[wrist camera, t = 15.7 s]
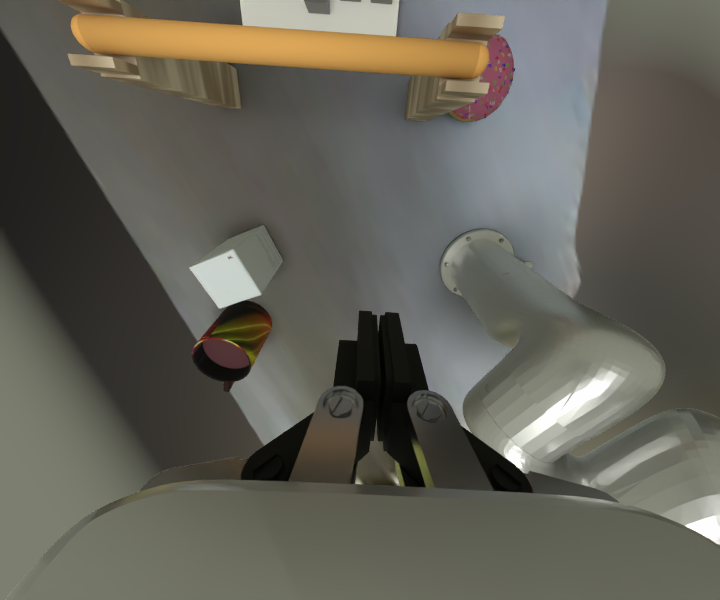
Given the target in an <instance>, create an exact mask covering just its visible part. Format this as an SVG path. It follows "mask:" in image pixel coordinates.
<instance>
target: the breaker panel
mask: <svg viewBox="0 0 720 600" xmlns="http://www.w3.org/2000/svg"><path fill="white" fill-rule="evenodd" d="M240 5H241V14H242V23H243V26H257V27H271V28H285V29H299V30H313V31H327V32H341V33H355V34H369V35H383V36H396V30H397V19H398V8H399V0H240Z"/></svg>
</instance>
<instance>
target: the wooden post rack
mask: <svg viewBox="0 0 720 600" xmlns="http://www.w3.org/2000/svg"><path fill="white" fill-rule="evenodd" d="M57 1H59V2H61V3H63V4H65V5H67V6H70V7H72V8H74V9H76V10H78V11H80V12H81V13H82V14H89V15H103V16H117V17H131V18H145V19H152V18H151V17H149V16H147V15H146V14H144V13H142V12H140V11H139V10H137V9H135V8H134V7H132V6H130V5H129V4H127V3H125V2H124V1H122V0H57ZM504 18H505V16H498V15H484V14H471V13H458V14H457V15H456V16H455V18H454V19H453V21H452V22H451V23H448V25H447V26H446V28H445V29H444V31H443V32H442V34H441V35H440V37H439V38H438V39H439V40H453V41H467V42H479V43H483V44H484V45H485V46H486V47H487V42H488V40H489V39H491V38H492V37H493V36H494V35H495V34H497V33H498V32H499V31H500V30H501V29H502V27H503V23H504ZM94 54H95V56H91V55H77V54H68V57H69V60H70V62H71V65H73V66H76V67H80V68H84V69H87V70H91V71H95V72H98V73H101V76H102V77H106V78H109V79H113V80H117V81H121V82H125V83H129V84H132V85H136V86H140V87H144V88H148V89H151V90H155V91H159V92H163V93H167V94H170V95H174V96H178V97H182V98H186V99H190V100H193V101H197V102H201V103H205V104H209V105H212V106H216V107H220V108H235V109H242V108H241V100H240V92H239V85H238V77H237V69H236V68H234V67H233V66H231V65H229V64H228V63H226V62H213V61H199V60H185V59H170V58H156V57H141V56H127V55H112V54H99V53H94ZM479 80H480V76H479V77H477V78H474V79H459V78H444V77H430V76H415V75H413V76H412V77H411V79H410V80H409V87H408V95H407V104H406V113H405V120H414V121H428V120H430V119H433V118H435V117H438V116H440V115H443V114H445V113H448V112H450V111H453V110H455V109H458V108H460V107H463V106H466V105H468V104H471V103H473V102H475V99H476V98H478V97H481V96H483V95H485V94H487V93H488V89H489V84H490V83H482V82H479Z"/></svg>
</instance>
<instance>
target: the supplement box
mask: <svg viewBox="0 0 720 600" xmlns="http://www.w3.org/2000/svg"><path fill="white" fill-rule="evenodd" d="M282 262H283V259H282V257H281V255H280V254H279V252H278V250H277V248H276V246H275V245H274V243H273V241H272V239H271V237H270V235H269V234H268V232H267V230H266V228H265V226H264V225H262V226H259V227H257V228H254V229H252V230H249V231H246V232H244V233H241V234H239V235H237V236H234V237H232V238H229V239H228V240H226V241H225V242H224V243H222V244H221V245H219V246H218V247H217V248H215V249H214V250H213V251H211V252H210V253H208V254H207V255H205V256H204V257H203V258H201V259H200V260H199V261H197V262H196V263H195V264H193V265H192V266H190V267H189V268H190V270H191V271H192V272H193V274H194V275H195V276H196V278H197V279H198V280H199V282H200V283H201V284H202V286H203V287H204V289H205V290H206V291H207V293H208V294H209V295H210V297H211V298H212V299H213V301H214V302H215V304H216V305H217V306H218V308H219V309H221V308H224V307H226V306H229V305H232V304H235V303H238V302H241V301H244V300H247V299H250V298H253V297H257V296H260V295H262V293H263V291H264V290H265V288H266V286H267V285H268V283H269V282H270V281H271V279H272V278H273V276H274V275H275V273H276V272H277V270H278V269H279V267H280V266H281V264H282Z"/></svg>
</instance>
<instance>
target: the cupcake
mask: <svg viewBox="0 0 720 600" xmlns="http://www.w3.org/2000/svg"><path fill="white" fill-rule="evenodd" d="M487 49H488V51H489V62H488V65H487V67H486V69H485V71H484V72H483V73H482V74H481V75H480V80H479V82H482V83H490V84H489V89H488V93H487V94H485V95H483V96H481V97H478V98H476V99H475V102H473V103H471V104H468V105H466V106H463V107H460V108H458V109H455V110H453V111H450V112H448V113H449V114H450V115H451V116H452V117H454V118H456V119H458V120H459V121H462V122H470V121H477V120H480V119H483V118H486V116H488V115H490V114H491V113H492V112H494V111H495V110H496V109H497V108H498V107H499V106H500V104H501V103H502V101H503V100H504V98H505V97H506V95H507V93H508V91H509V89H510V86H511V85H512V83H511V82H512V81H513V72H514V71H515V68H514V61H513V55H512V52H511V50H510V47H509V45H508V43H507V41H506V40H505V39H504V38H503V37H501V36H500V35H496V34H495V35H494V36H493V37H492V38H491V39H489V40H488V42H487Z"/></svg>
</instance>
